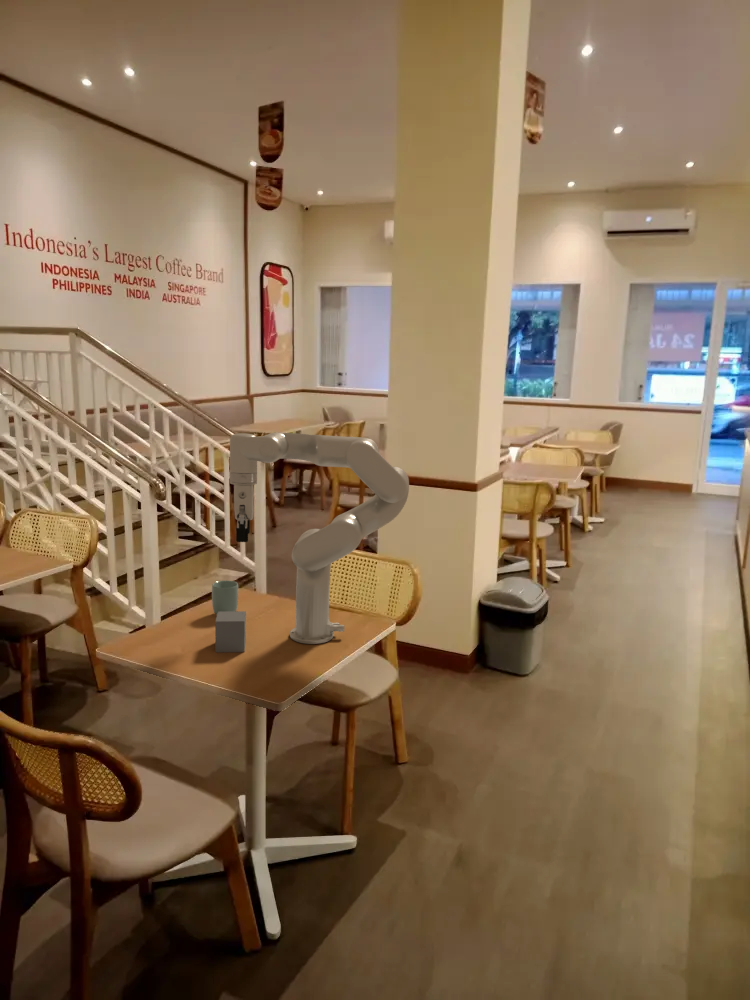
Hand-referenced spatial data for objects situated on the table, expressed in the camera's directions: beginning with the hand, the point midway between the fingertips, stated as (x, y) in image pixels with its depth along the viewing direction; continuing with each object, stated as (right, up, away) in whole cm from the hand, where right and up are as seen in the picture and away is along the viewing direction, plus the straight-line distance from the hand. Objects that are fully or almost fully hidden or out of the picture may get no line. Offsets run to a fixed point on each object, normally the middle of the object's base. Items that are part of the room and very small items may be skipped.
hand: (243, 537), depth 202 cm
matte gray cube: (-2, -30, -6) cm, 30 cm away
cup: (-9, -25, +18) cm, 32 cm away
